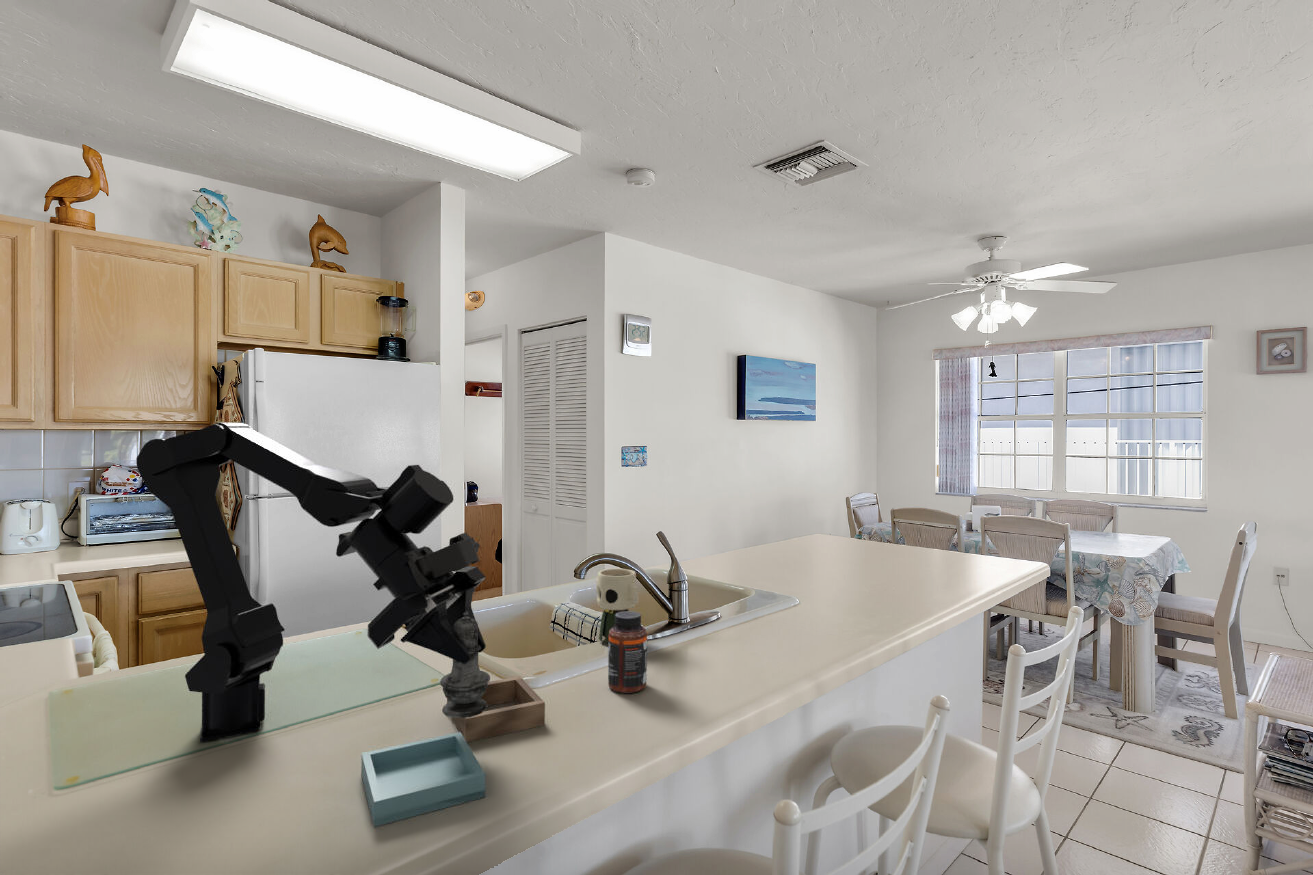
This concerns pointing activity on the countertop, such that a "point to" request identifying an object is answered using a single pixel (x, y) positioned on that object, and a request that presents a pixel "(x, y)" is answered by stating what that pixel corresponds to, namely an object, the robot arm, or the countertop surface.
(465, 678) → the salt shaker
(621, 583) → the character mug
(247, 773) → the countertop surface
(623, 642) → the supplement bottle
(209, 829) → the countertop surface
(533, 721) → the box
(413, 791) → the tray
